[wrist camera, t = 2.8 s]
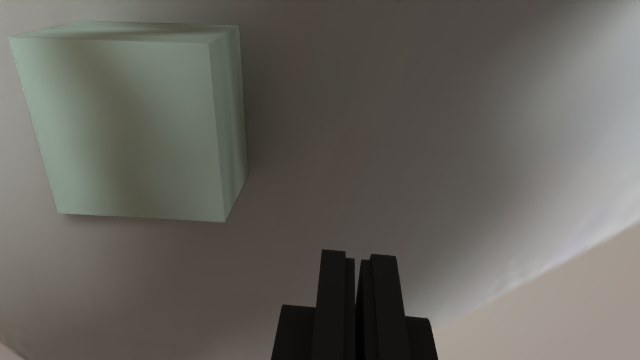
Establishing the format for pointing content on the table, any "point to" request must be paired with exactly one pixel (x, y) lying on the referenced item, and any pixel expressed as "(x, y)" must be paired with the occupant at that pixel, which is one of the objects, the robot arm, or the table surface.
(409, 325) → the robot arm
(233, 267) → the table surface
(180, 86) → the sage block
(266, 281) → the table surface
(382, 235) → the table surface
